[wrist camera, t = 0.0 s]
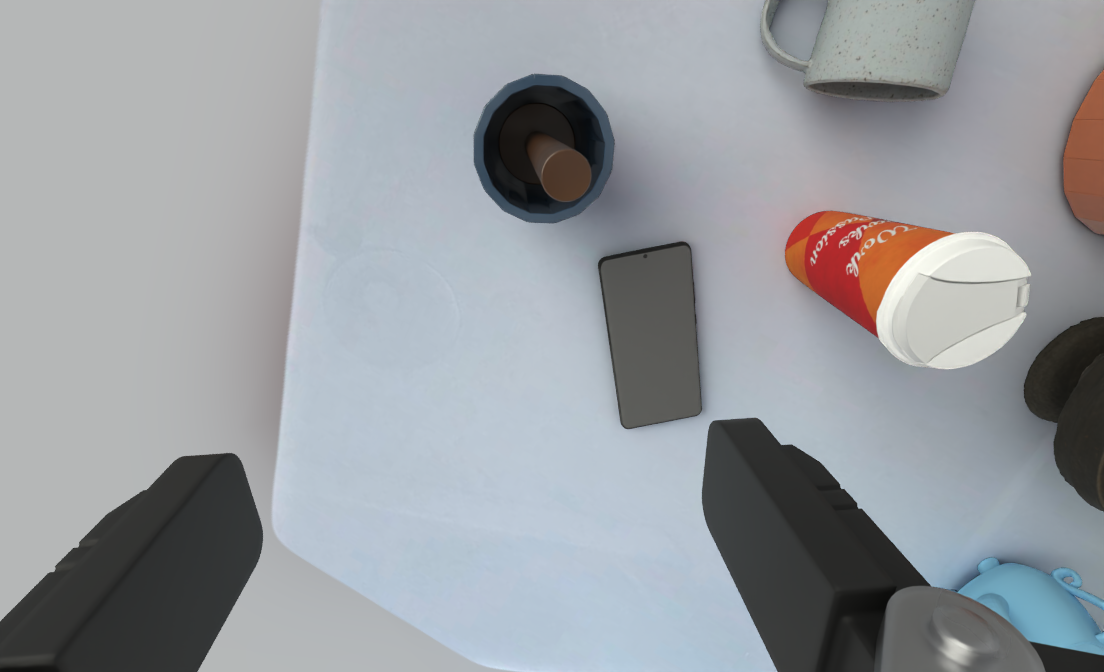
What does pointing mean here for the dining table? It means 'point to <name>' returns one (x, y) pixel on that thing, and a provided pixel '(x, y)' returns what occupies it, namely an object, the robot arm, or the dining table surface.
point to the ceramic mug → (880, 48)
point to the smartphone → (652, 333)
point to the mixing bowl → (1087, 160)
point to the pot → (1074, 404)
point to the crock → (589, 141)
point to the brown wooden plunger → (544, 151)
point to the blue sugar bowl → (1039, 604)
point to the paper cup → (914, 285)
